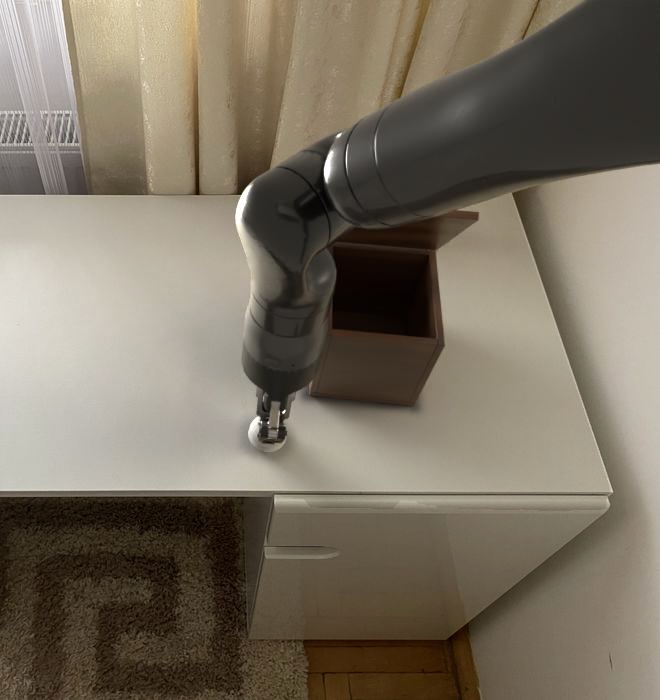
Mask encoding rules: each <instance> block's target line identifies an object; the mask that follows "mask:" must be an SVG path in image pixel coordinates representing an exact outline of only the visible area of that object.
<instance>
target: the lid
mask: <svg viewBox="0 0 660 700" xmlns="http://www.w3.org/2000/svg"><path fill="white" fill-rule="evenodd" d="M479 220H480V211H472V210H471V211H470V210H461V209H458V210H455V211H452V212H449V213H445V214H442V215H439V216H435V217H432V218H428V219H425V220H422V221H418V222H415V223H411V224H407V225H404V226H401V227H397V228H392V229H386V230H366V229H361V228H358V227H357V228H355V229H354V230H352V231H351V232H349V233H348V234H346V235H345V236H344V237H342V238H341V239H339V240H338V241H336V242H342V243H354V244H366V245H377V246H389V247H401V248H413V249H425V250H435V251H438V250H439V249H441V248H442V247H443V246H445V245H447V244H448V243H449V242H451V240H453V239H454V238H456V237H457V236H459V235H460V234H461V233H463V232H465V231H466V230H467V229H468V228H470V227H472V225H474V224H475V223H476V222H478V221H479Z"/></svg>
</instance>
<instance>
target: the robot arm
mask: <svg viewBox="0 0 660 700" xmlns="http://www.w3.org/2000/svg"><path fill="white" fill-rule="evenodd" d="M655 165H660V0H582V1H581V2H579V3H578V4H577V5H575V6H573V7H571V9H569V10H567V11H566V12H564V13H562V14H561V15H560V16H558V17H557V18H555V19H554V20H552V21H551V22H549V23H547V24H546V25H544V26H542V27H541V28H539V29H538V30H536V31H535V32H533V33H531V34H530V35H528V36H526V37H524V38H523V39H521V40H519V41H518V42H516V43H514V44H513V45H511V46H509V47H507V48H505V49H503V50H501V51H499V52H498V53H494V54H493V55H491V56H489V57H487V58H485V59H482V60H480V61H478V62H475V63H473V64H470V65H468V66H465V67H462V68H460V69H457V70H456V71H454V72H453V71H452V72H451V73H449V74H446V75H444V76H441V77H439V78H437V79H435V80H433V81H430V82H429V83H426V84H424V85H422V86H420V87H418V88H417V89H414V90H412V91H410V92H408V93H406V94H405V95H403V96H401V97H399V98H397V99H395V100H393V101H391V102H390V103H388V104H386V105H384V106H382V107H380V108H378V109H377V110H375V111H373V112H371V113H369V114H367V115H366V116H364V117H362V118H360V119H359V120H357V121H356V122H354V123H353V124H352V125H350V126H348V127H345V128H343V129H340V130H337V131H335V132H333V133H331V134H328V135H326V136H325V137H322V138H320V139H318V140H317V141H314V142H313V143H311V144H309V145H307V146H306V147H304V148H302V149H301V150H299V151H298V152H296V153H294V154H292V155H291V156H290V157H288V158H286V159H285V160H283V161H282V162H280V163H278V164H276V165H275V166H273V167H272V168H270V169H268V170H266V171H265V172H263V173H261V174H260V175H258V176H256V178H254V179H253V180H252V181H251V182H250V183H248V184H247V186H246V187H245V188H244V189H243V191H242V193H241V196H240V198H239V199H238V202H237V204H236V208H235V214H234V215H235V216H234V218H235V219H234V220H235V227H236V231H237V234H238V236H239V239H240V242H241V245H242V247H243V251H244V254H245V259H246V261H247V265H248V268H249V272H250V275H251V280H250V290H249V300H248V303H247V304H248V305H247V307H246V311H245V316H244V324H243V335H242V347H241V348H242V349H241V366H242V369H243V372H244V374H245V375H246V378H247V379H248V380H249V381H250V382H251V383H252V384H253V385H255V386H256V391H255V397H256V398H257V400H256V410H255V414H256V417H258V416H259V417H260V421H258V425H259V433H258V434H257V438H258V441H261V442H262V443H264V444H273V445H274V444H275V443H282V442H283V441H284V440H285V436H286V437H288V430H287V427H286V423H285V422H284V421H285V420H288V419H289V418H290V414H291V408H292V404H293V403H292V402H294V401H295V400H296V393H297V392H299V391H300V390H303V389H305V388H306V387H307V386H309V383H310V382H311V381H312V380H313V379H314V377H315V375H316V373H317V370H318V367H319V363H320V359H321V355H322V351H323V347H324V343H325V339H326V335H327V331H328V323H329V311H330V307H331V303H332V299H333V295H334V292H335V287H336V279H337V269H336V264H335V261H334V258H333V256H332V255H331V253H330V252H329V251H328V250H327V249H326V248H328V247H329V246H331V245H332V244H334V243H335V242H336V241H338V240H339V239H341V238H342V237H344V236H345V235H346V234H348V233H349V232H351V231H352V230H354V229H355V228H357V227H358V228H361V229H366V230H386V229H392V228H397V227H401V226H404V225H407V224H411V223H415V222H418V221H422V220H425V219H428V218H432V217H435V216H439V215H442V214H445V213H449V212H452V211H455V210H461V209H465V208H467V207H471V206H473V205H477V204H480V203H483V202H486V201H487V202H488V201H490V200H493V199H497V198H500V197H502V196H506V195H509V194H512V193H516V192H519V191H523V190H525V189H530V188H533V187H538V186H541V185H545V184H550V183H553V182H559V181H564V180H569V179H574V178H579V177H585V176H590V175H595V174H596V175H597V174H601V173H608V172H614V171H619V170H620V171H621V170H625V169H632V168H639V167H647V166H655ZM263 396H264V401H263ZM266 417H269V418H266ZM285 441H286V440H285Z"/></svg>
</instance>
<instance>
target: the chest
mask: <svg viewBox="0 0 660 700" xmlns="http://www.w3.org/2000/svg"><path fill="white" fill-rule="evenodd" d="M326 249H327V250H328V251H329V252H330V253H331V255H332V256H333V258H334V261H335V264H336V269H337V279H336V287H335V292H334V295H333V299H332V303H331V307H330V311H329V323H328V331H327V335H326V339H325V343H324V347H323V351H322V355H321V359H320V363H319V367H318V370H317V373H316V375H315V377H314V379H313V380H312V381H311V382H310V383H309V384H308V386H309V387H308V395H309V396H310V397H322V398H331V399H340V400H350V401H351V400H352V401H360V402H361V401H362V402H370V403H379V404H381V403H382V404H389V405H390V404H391V405H400V406H411V407H414V406H415V405H416V403H417V401H418V399H419V397H420V395H421V394H422V391H423V389H424V388H425V386H426V383H427V382H428V379H429V378H430V376H431V373H432V372H433V370H434V368H435V366H436V364H437V362H438V360H439V358H440V356H441V354H442V353H443V350H444V349H445V347H446V341H445V331H444V320H443V309H442V301H441V291H440V279H439V270H438V259H437V250H425V249H413V248H401V247H389V246H377V245H366V244H354V243H342V242H335V243H334V244H332V245H331V246H329V247H328V248H326Z"/></svg>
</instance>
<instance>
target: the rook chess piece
mask: <svg viewBox="0 0 660 700" xmlns="http://www.w3.org/2000/svg"><path fill="white" fill-rule="evenodd" d="M263 401H264V396H263ZM266 418H269V417H266ZM258 421H260V417H259V416H256V417H255V418H254V419H253V420H252V422H251V423H250V425H249V429H248V434H247V436H248V441H249V443H250V444H251V445H252V447H253V448H255V449H256V450H258V451H259V452H264V453H271V452H272V453H273V452H276V451H278V450H280V449H281V448H283V446H284V445H285V443H286V440H287V436H285V440H284V441H283V442H282V443H275V444H274V445H273V444H264V443H262V442H261V441H258V438H257V434H258V433H259V425H258Z"/></svg>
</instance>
